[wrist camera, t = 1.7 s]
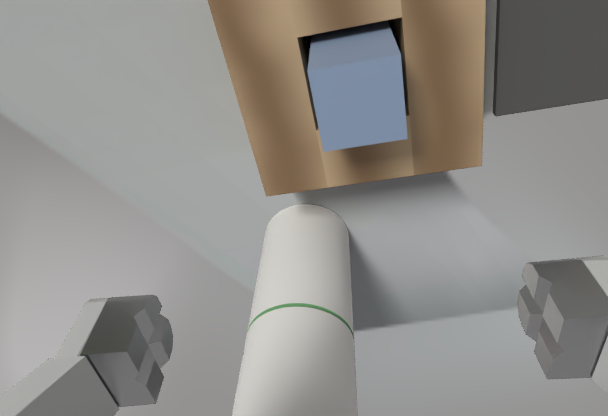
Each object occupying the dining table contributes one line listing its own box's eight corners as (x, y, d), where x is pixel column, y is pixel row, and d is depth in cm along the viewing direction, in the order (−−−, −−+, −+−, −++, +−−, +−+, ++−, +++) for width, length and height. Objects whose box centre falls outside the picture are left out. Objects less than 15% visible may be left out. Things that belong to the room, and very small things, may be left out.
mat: (691, -88, 25) (699, -87, 24) (649, 87, 31) (655, 91, 30) (498, -48, 26) (502, -46, 26) (492, 112, 32) (495, 116, 32)
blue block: (382, 9, 29) (400, 54, 21) (389, 77, 31) (407, 138, 24) (313, 22, 29) (307, 71, 22) (325, 88, 32) (323, 152, 24)
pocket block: (462, -101, 25) (488, -97, 21) (463, 130, 33) (481, 165, 29) (218, -45, 27) (198, -31, 23) (273, 159, 35) (266, 196, 31)
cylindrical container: (265, 265, 42) (202, 635, 21) (266, 200, 37) (189, 584, 17) (343, 271, 42) (355, 647, 21) (353, 207, 37) (381, 599, 17)
